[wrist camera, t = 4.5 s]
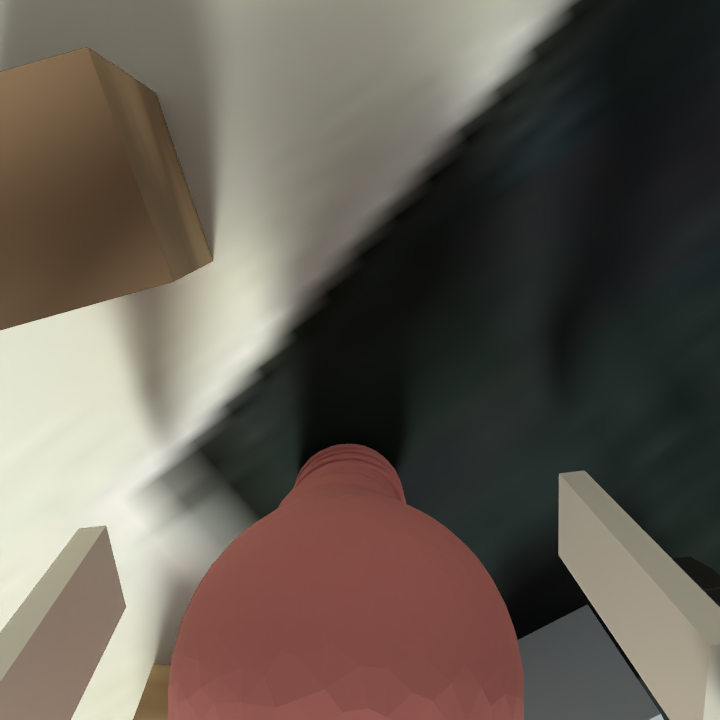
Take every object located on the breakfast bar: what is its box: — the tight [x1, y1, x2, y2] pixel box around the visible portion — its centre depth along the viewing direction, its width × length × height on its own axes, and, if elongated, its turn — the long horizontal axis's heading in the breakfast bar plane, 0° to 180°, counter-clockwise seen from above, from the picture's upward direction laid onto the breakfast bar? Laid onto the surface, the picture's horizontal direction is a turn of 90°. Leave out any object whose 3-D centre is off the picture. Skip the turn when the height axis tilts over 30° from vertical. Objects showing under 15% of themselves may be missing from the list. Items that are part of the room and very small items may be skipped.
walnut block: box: [0, 47, 213, 330], centre depth 15 cm, size 5×5×5 cm
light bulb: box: [168, 444, 524, 720], centre depth 14 cm, size 7×7×12 cm
